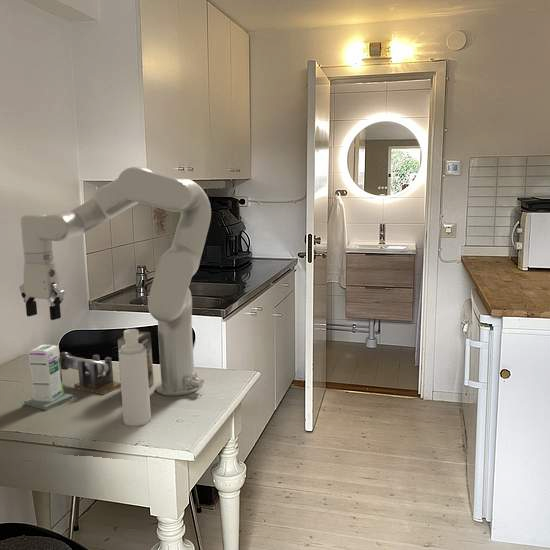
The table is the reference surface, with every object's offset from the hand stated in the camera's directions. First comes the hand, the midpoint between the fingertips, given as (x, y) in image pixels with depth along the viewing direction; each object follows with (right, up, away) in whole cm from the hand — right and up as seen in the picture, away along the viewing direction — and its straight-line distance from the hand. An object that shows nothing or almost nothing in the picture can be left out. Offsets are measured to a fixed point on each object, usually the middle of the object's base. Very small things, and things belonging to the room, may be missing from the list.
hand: (43, 317), depth 163 cm
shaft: (+9, -17, +6) cm, 21 cm away
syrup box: (+4, -22, -6) cm, 23 cm away
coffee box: (+27, -21, +2) cm, 34 cm away
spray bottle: (+32, -25, -19) cm, 45 cm away
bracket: (+14, -21, +4) cm, 26 cm away
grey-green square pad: (+4, -23, -6) cm, 24 cm away
